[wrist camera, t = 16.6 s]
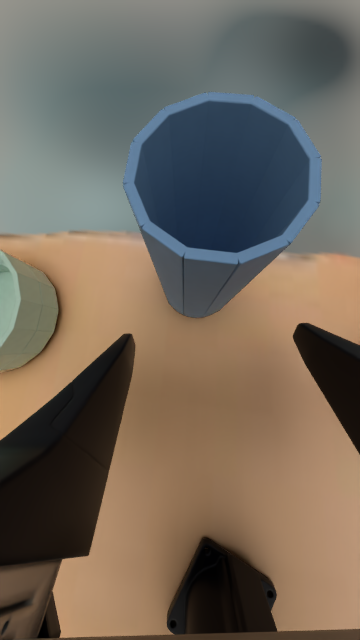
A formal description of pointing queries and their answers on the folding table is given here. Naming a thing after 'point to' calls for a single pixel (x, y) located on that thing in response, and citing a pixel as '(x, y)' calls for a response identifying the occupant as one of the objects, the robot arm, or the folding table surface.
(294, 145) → the tumbler
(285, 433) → the folding table surface
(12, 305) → the bowl
